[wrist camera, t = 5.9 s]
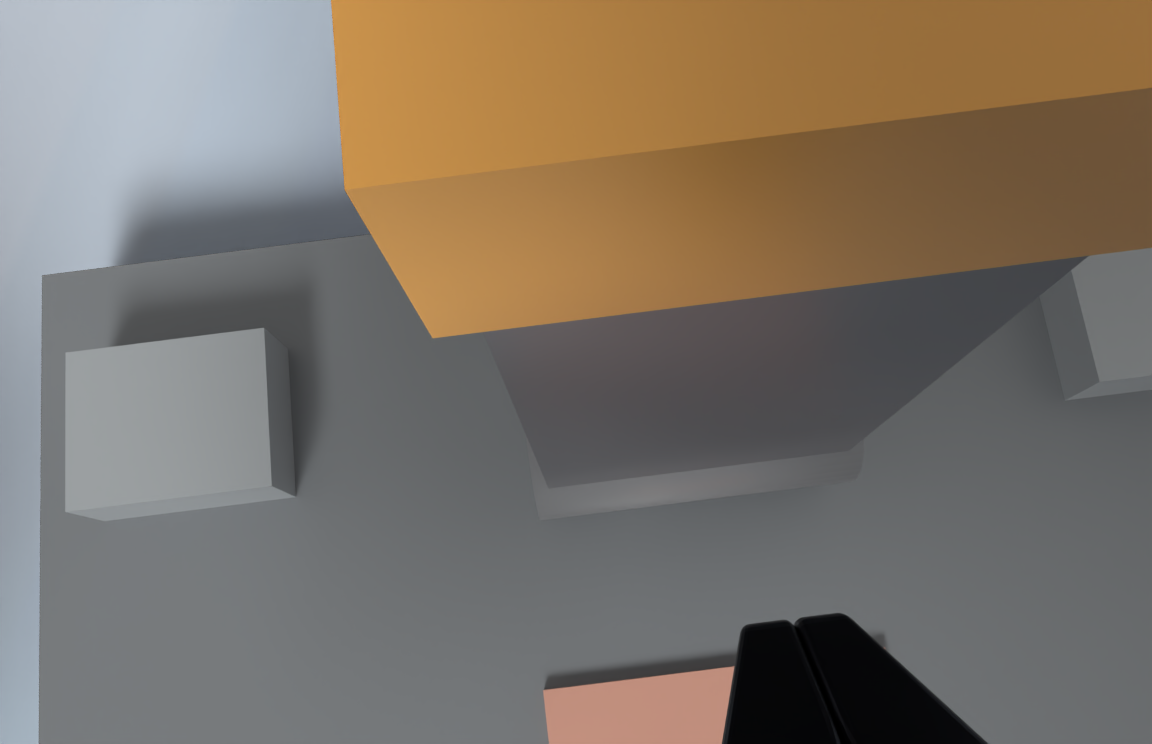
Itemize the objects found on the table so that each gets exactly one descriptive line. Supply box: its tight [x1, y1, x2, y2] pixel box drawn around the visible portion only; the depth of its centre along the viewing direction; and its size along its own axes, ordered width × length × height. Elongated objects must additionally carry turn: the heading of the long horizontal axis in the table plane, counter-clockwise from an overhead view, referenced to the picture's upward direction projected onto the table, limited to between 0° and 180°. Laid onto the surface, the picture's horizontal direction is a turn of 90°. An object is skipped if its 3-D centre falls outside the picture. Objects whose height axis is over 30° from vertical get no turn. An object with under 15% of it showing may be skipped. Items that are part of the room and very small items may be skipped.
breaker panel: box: [39, 234, 1152, 744], centre depth 16 cm, size 14×20×3 cm
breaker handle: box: [331, 0, 1152, 520], centre depth 10 cm, size 2×4×12 cm, turn 97°
